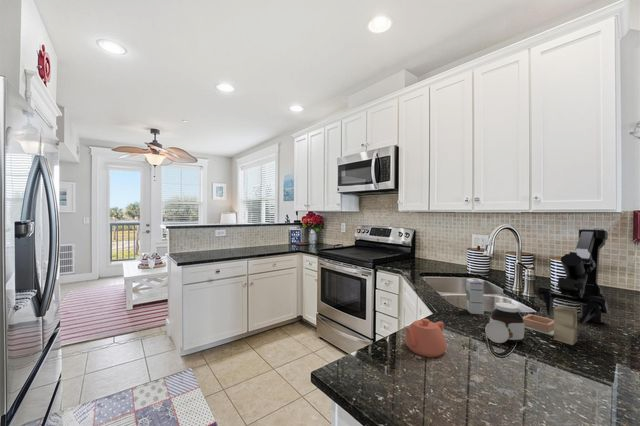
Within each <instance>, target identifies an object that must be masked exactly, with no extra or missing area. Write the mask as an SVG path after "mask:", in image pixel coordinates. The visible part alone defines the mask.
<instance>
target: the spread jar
mask: <svg viewBox="0 0 640 426" xmlns="http://www.w3.org/2000/svg"><path fill="white" fill-rule="evenodd" d="M494 305H495V308H494V309H493V310H492V311H490V314H489V322H488V323H487V324H486V325H485V328H484V329H485V335H486V337H487V338H488V339H489V340H490V341H492V342H493V343H496V344H497V343H498V344H503V343H505V342H506V343H514V344H515V343H518V342H520V341H522V340H523V339H524V337H525V328H524V320H523V318H522V317H523V316H522V315H521V313H520V312H519V306H518V305H517V304H516V305H515V304H513V303H509V302H495V304H494Z"/></svg>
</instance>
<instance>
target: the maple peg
mask: <svg viewBox="0 0 640 426" xmlns="http://www.w3.org/2000/svg"><path fill="white" fill-rule="evenodd" d="M577 316H578V309H576V308H570V307H566V306H561V305H557V306H556V307H554V308H553V320H554V335H553V340H554V341H558V342H561V343H564V344H567V345H571V346H573V345H574V344H576V343H577V342H578V317H577Z"/></svg>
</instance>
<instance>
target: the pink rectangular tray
mask: <svg viewBox="0 0 640 426" xmlns="http://www.w3.org/2000/svg"><path fill="white" fill-rule="evenodd" d="M522 318H523V320H524V329H527V330H532V331H536V332H537V333H538V332H539V333H542V334H545V335H548V336H552V337H554V319H552V318H548V317H544V316H539V315H535V314H532V313H528V314H526V315H524V316H522Z"/></svg>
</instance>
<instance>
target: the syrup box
mask: <svg viewBox="0 0 640 426" xmlns="http://www.w3.org/2000/svg"><path fill="white" fill-rule="evenodd" d="M465 281H466V282H465V289H466V291H465V295H466V296H465V297H466V298H465V299H466V301H465V303H466V304H465V307H466V308H465V309H466V311H467V312H468V313H469V314H471V315H484V313H485V312H484V310H485V309H484V306H485V305H484V281H482V280H481V279H479V278H466V279H465Z"/></svg>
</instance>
